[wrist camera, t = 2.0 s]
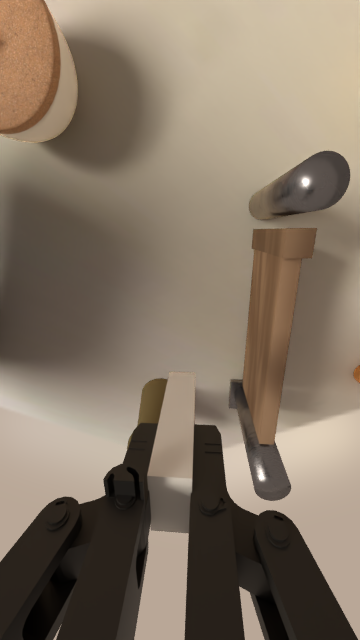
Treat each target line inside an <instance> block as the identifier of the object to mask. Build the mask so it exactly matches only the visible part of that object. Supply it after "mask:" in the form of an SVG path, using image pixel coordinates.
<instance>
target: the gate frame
mask: <svg viewBox="0 0 360 640" xmlns="http://www.w3.org/2000/svg"><path fill="white" fill-rule="evenodd" d="M349 181H350V169H349V165H348V163H347V161H346V160H345V158H344V157H343V156H341V155H340V154H338V153H336V152H333V151H322V152H319V153H316V154H314V155H313V156H311V157H309V158H308V159H306V160H305V161H303V162H302V163H300V164H299V165H297V166H296V167H294V168H293V169H291V170H290V171H288V172H287V173H285V174H284V175H282V176H281V177H279V178H278V179H276V180H275V181H273V182H272V183H270V184H269V185H267V186H266V187H264V188H263V189H261V190H260V191H258V192H257V193H255V194H254V195H253V196H252V198H251V200H250V202H249V211H250V213H251V215H252V216H253V217H254V218H256V219H258V220H265V219H270V218H276V217H282V216H288V215H293V214H299V213H305V212H311V211H317V210H322V209H326V208H329V207H331V206H332V205H334V204H335V203H337V202H338V201H339V200H340V199H341V198H342V196H343V195H344V193H345V192H346V190H347V188H348V185H349ZM242 385H243V380H230V394H229V408H235V409H237V411H238V416H239V420H240V425H241V430H242V434H243V439H244V443H245V448H246V452H247V457H248V462H249V466H250V471H251V475H252V480H253V485H254V489H255V492H256V494H257V495H258V496H259V497H260V498H263V499H265V500H270V501H275V500H280V499H282V498H284V497H285V496H287V495H288V494H289V492H290V490H291V484H290V482H289V479H288V476H287V474H286V471H285V468H284V465H283V463H282V460H281V457H280V454H279V451H278V449H277V446H276V443H275V440H274V445H271V444H259V441H258V438H257V434H256V431H255V427H254V424H253V420H252V417H251V413H250V410H249V406H248V403H247V399H246V396H245V392H244V389H243V386H242Z"/></svg>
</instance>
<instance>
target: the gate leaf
mask: <svg viewBox="0 0 360 640" xmlns="http://www.w3.org/2000/svg"><path fill="white" fill-rule="evenodd" d="M316 231H317V228H285V229H253V240H252V249H254V260H253V271H252V283H251V294H250V305H249V317H248V328H247V339H246V351H245V362H244V373H243V385H242V386H243V389H244V392H245V396H246V399H247V403H248V406H249V410H250V413H251V417H252V420H253V424H254V427H255V431H256V434H257V438H258V441H259V444H271V445H274V439H275V433H276V426H277V420H278V413H279V407H280V400H281V393H282V387H283V380H284V374H285V367H286V360H287V354H288V347H289V340H290V334H291V327H292V321H293V314H294V307H295V301H296V294H297V288H298V281H299V274H300V268H301V261H302V258H312V256H313V250H314V244H315V237H316Z"/></svg>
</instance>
